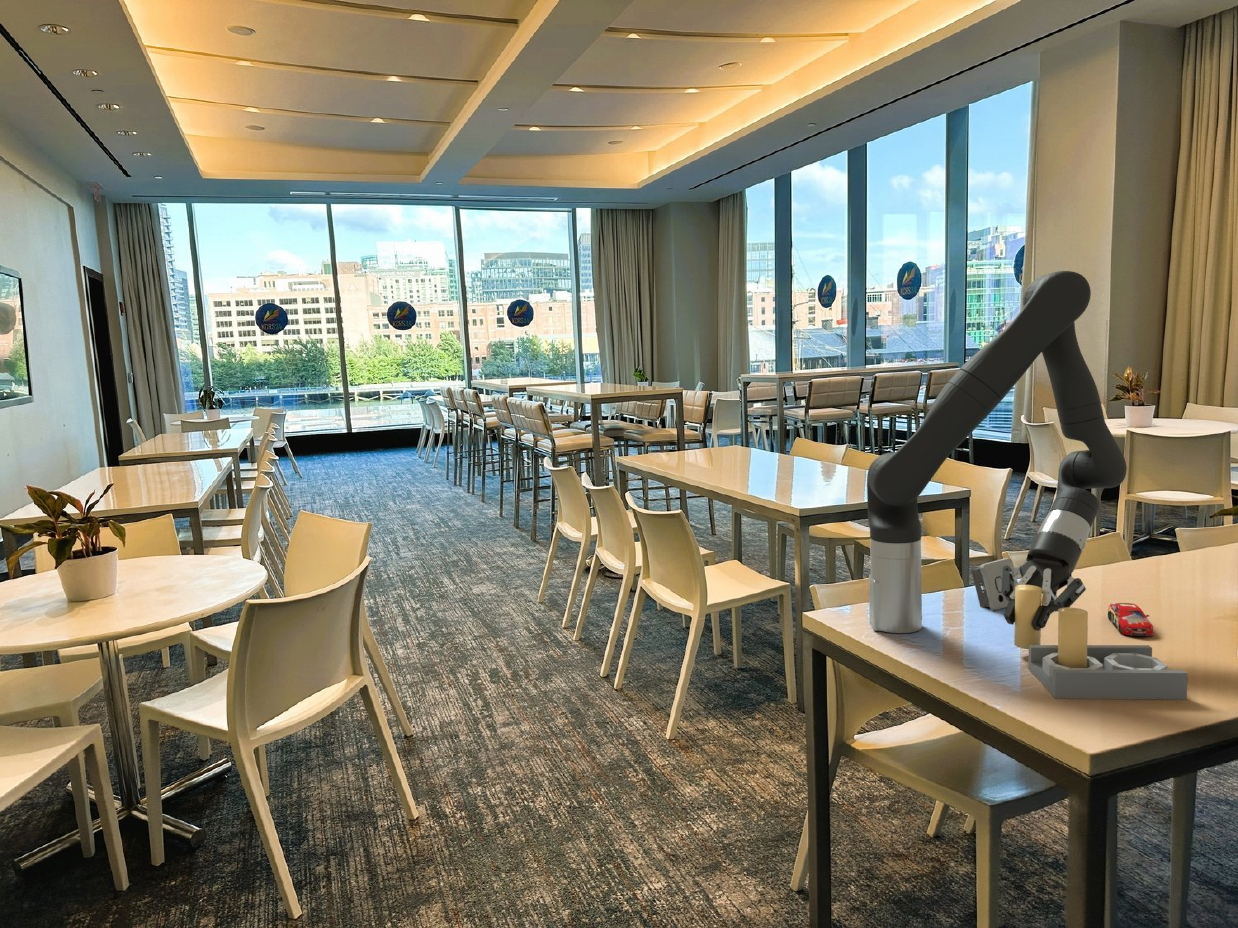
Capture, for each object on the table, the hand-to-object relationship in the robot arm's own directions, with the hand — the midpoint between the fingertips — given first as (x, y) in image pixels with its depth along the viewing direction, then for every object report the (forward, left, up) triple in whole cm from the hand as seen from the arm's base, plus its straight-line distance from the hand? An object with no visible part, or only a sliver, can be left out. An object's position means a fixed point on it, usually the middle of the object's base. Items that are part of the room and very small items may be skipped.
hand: (1022, 624), depth 141 cm
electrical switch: (+5, +31, -6) cm, 32 cm away
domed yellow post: (+1, +1, -4) cm, 5 cm away
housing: (+9, -11, -6) cm, 15 cm away
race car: (+24, +17, -6) cm, 30 cm away
